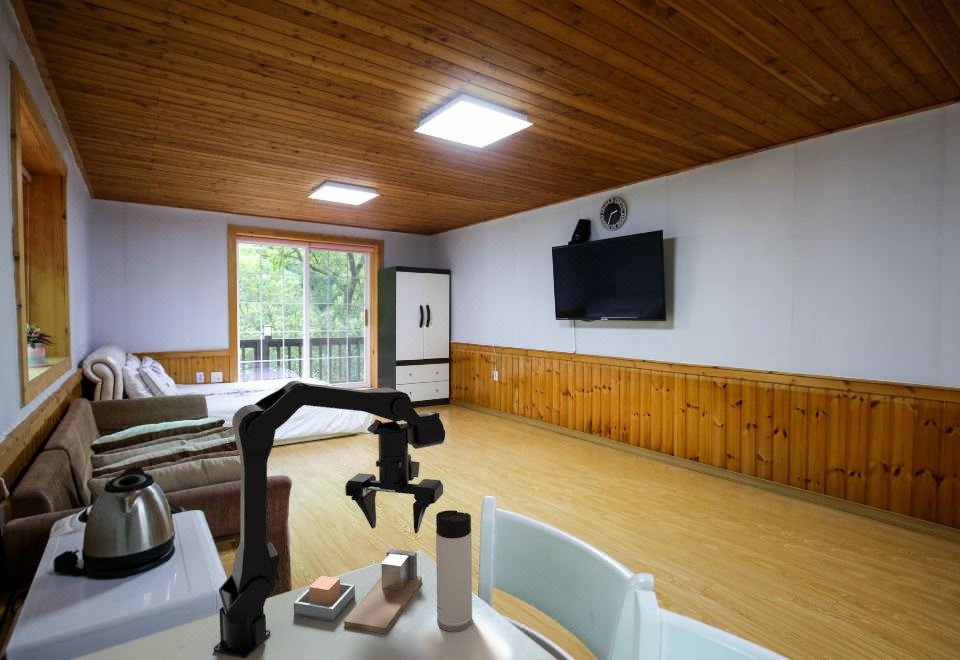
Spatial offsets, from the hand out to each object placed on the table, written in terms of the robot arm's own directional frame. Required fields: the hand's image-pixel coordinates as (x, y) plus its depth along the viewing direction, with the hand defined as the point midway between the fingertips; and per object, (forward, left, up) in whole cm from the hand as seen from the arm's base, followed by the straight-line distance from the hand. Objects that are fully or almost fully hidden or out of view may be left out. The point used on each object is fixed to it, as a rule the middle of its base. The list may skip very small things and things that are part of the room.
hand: (395, 530), depth 101 cm
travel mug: (+14, -7, -12) cm, 20 cm away
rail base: (0, -5, -12) cm, 13 cm away
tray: (-11, -9, -12) cm, 18 cm away
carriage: (0, 0, -11) cm, 11 cm away
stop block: (-11, -9, -11) cm, 18 cm away
